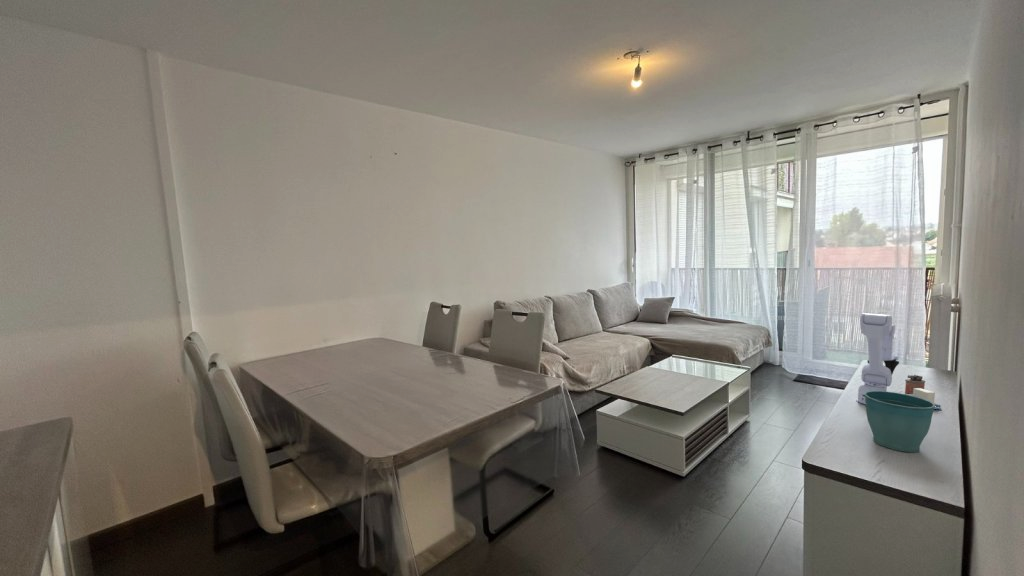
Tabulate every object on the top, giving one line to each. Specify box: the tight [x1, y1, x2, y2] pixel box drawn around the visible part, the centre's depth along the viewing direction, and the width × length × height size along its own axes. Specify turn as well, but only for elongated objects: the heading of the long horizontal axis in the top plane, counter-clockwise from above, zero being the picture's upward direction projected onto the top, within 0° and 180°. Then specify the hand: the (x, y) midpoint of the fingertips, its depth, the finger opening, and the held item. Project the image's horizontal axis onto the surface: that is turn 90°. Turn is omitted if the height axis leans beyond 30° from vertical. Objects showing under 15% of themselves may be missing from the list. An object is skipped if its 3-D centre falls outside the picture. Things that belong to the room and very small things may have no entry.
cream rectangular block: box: [913, 388, 936, 404], centre depth 182 cm, size 4×6×7 cm, turn 3°
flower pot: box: [864, 391, 935, 453], centre depth 143 cm, size 18×18×17 cm
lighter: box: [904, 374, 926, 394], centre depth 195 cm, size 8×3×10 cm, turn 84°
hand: (882, 375), depth 193 cm, fingers open, 7 cm apart
